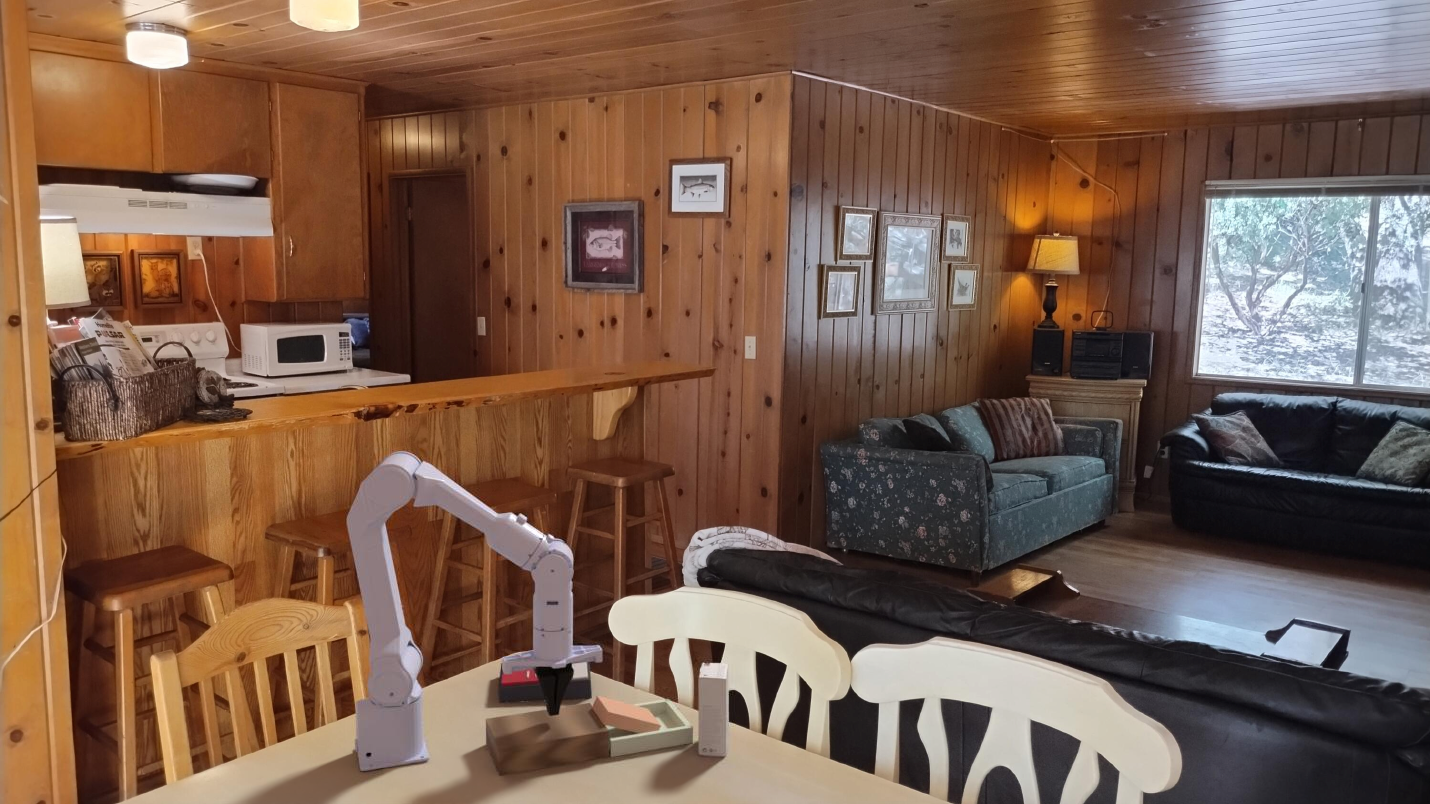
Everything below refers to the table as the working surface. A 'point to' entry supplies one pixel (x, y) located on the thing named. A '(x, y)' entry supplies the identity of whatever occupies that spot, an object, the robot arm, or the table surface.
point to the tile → (625, 715)
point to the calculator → (529, 688)
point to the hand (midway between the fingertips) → (552, 712)
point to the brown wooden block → (546, 739)
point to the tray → (668, 735)
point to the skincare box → (713, 709)
